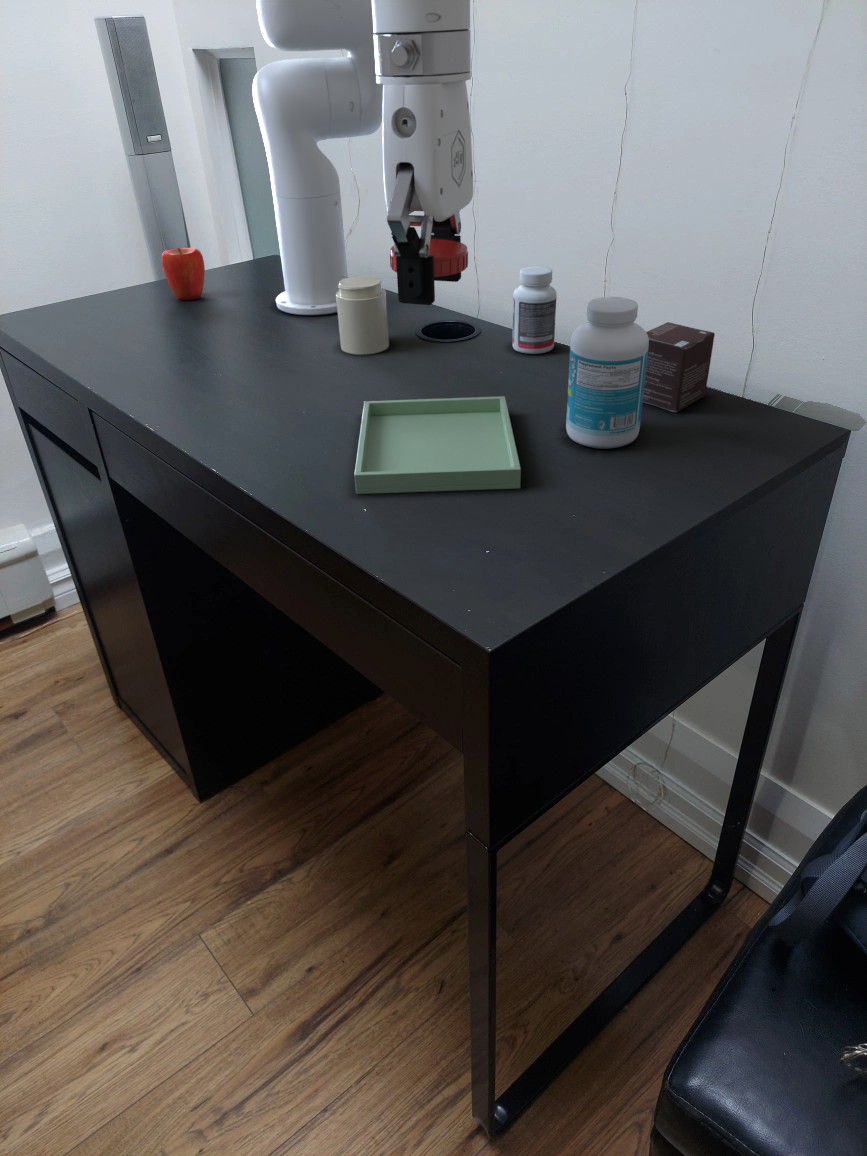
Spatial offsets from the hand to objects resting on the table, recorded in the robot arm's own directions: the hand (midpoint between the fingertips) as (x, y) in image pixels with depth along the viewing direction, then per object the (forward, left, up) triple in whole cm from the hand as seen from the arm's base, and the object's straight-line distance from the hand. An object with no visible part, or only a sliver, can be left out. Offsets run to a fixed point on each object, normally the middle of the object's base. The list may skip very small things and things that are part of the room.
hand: (430, 289), depth 76 cm
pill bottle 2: (-2, +17, -16) cm, 24 cm away
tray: (0, 0, -16) cm, 16 cm away
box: (-11, +26, -16) cm, 33 cm away
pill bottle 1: (-29, +13, -16) cm, 36 cm away
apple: (-58, -38, -16) cm, 71 cm away
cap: (0, 0, +3) cm, 3 cm away
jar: (-32, -9, -16) cm, 37 cm away
